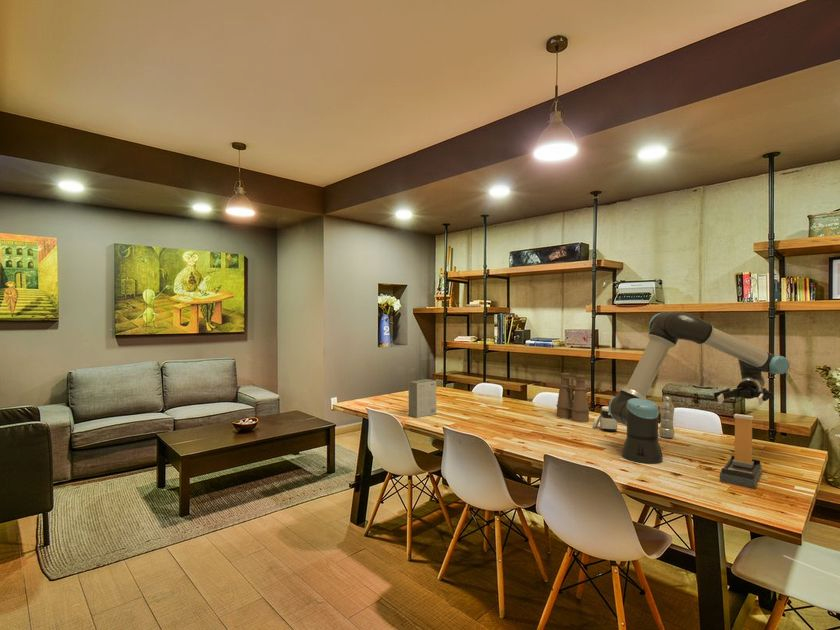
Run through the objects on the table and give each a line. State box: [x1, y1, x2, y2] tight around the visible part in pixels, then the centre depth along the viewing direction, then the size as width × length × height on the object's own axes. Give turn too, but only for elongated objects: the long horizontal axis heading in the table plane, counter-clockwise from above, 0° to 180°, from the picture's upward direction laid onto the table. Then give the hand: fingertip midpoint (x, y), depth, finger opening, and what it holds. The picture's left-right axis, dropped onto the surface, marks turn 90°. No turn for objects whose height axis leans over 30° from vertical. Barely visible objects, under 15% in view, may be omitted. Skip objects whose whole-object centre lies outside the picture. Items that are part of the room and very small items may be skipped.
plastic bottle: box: [658, 395, 676, 439], centre depth 220 cm, size 6×7×20 cm
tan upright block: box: [732, 413, 754, 469], centre depth 169 cm, size 5×6×18 cm
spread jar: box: [592, 405, 618, 433], centre depth 235 cm, size 12×11×12 cm
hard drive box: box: [408, 378, 437, 418], centre depth 264 cm, size 16×8×20 cm, turn 130°
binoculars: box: [555, 372, 591, 423], centre depth 260 cm, size 21×10×25 cm, turn 31°
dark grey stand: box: [719, 455, 763, 490], centre depth 166 cm, size 22×10×5 cm, turn 138°
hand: (738, 401), depth 181 cm, fingers open, 13 cm apart
